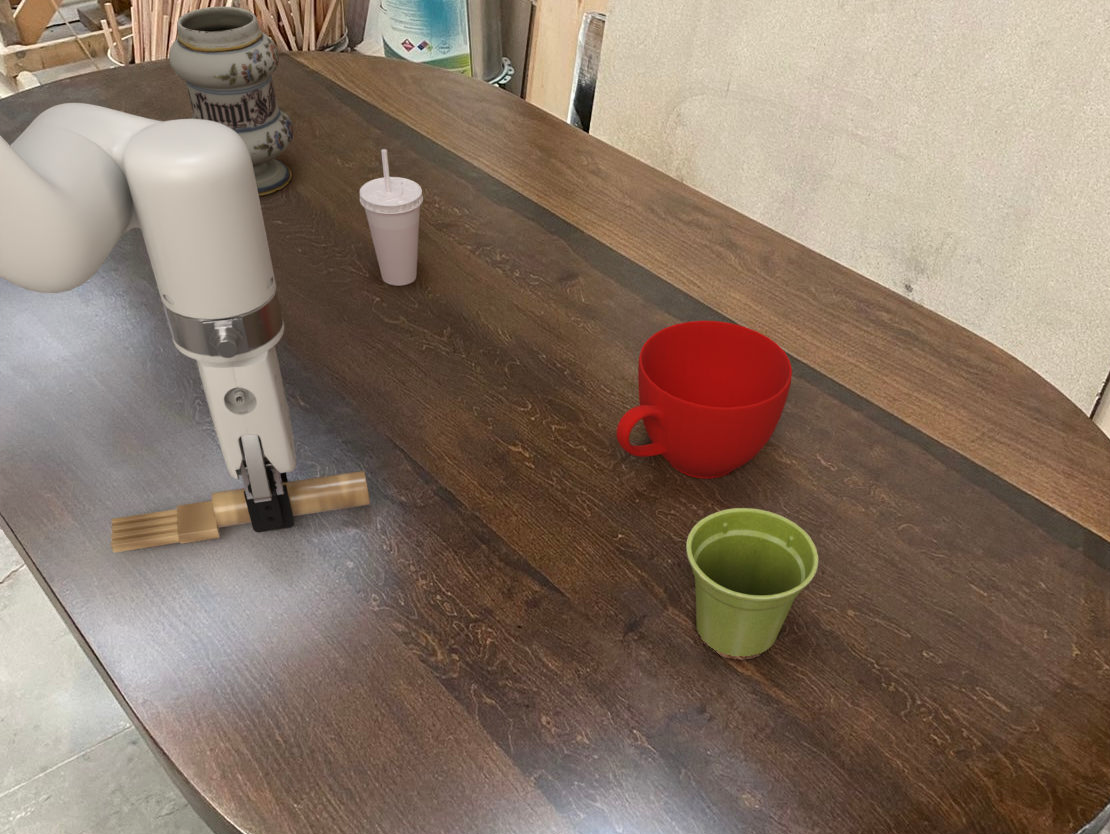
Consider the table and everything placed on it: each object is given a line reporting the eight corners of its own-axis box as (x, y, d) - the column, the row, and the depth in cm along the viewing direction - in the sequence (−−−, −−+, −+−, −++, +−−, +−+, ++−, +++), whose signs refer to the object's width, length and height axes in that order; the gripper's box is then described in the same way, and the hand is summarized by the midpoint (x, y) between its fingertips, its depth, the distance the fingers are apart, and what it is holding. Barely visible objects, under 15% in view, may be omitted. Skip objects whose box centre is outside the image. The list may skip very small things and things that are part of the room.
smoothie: (358, 285, 114) (342, 155, 104) (384, 257, 118) (371, 129, 108) (414, 297, 113) (402, 167, 103) (438, 268, 117) (429, 140, 107)
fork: (366, 486, 90) (362, 460, 88) (372, 514, 88) (368, 488, 86) (114, 524, 85) (104, 497, 83) (113, 554, 83) (102, 528, 81)
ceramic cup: (567, 462, 95) (570, 368, 88) (704, 395, 103) (717, 304, 96) (665, 542, 89) (677, 448, 82) (803, 464, 97) (825, 371, 89)
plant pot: (668, 588, 85) (679, 507, 79) (784, 586, 86) (804, 506, 80) (682, 680, 79) (695, 599, 72) (807, 677, 80) (831, 597, 73)
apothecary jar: (214, 153, 133) (179, -5, 120) (310, 159, 133) (286, 2, 120) (184, 199, 125) (144, 34, 112) (287, 205, 125) (258, 41, 112)
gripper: (291, 374, 69) (331, 574, 82) (271, 250, 80) (309, 445, 93) (169, 389, 67) (230, 591, 81) (165, 260, 78) (220, 457, 91)
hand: (272, 511), depth 87 cm, fingers closed on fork, 2 cm apart
